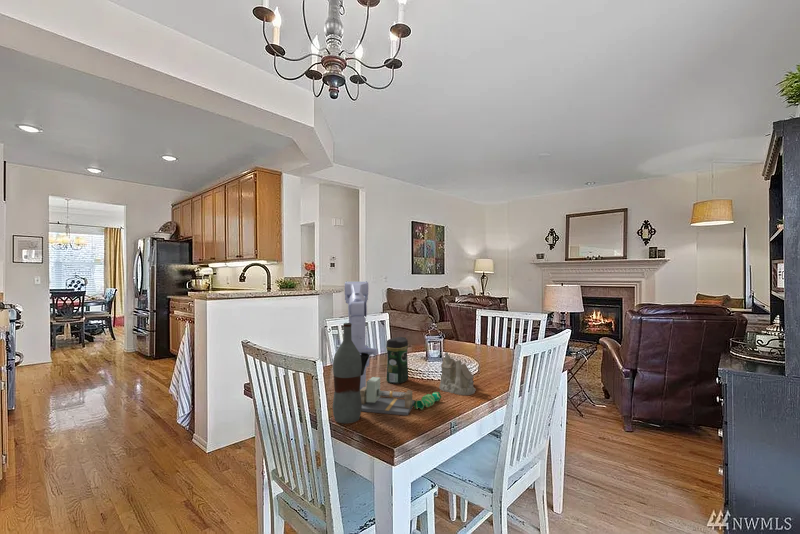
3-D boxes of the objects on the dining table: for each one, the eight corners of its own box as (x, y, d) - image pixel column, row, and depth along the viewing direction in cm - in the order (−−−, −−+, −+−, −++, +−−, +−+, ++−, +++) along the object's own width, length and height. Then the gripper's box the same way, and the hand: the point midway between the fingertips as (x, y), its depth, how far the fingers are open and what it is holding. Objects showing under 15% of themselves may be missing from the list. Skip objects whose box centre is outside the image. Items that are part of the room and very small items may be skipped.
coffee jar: (395, 377, 167) (395, 335, 168) (410, 379, 163) (410, 336, 164) (383, 382, 159) (383, 338, 159) (399, 385, 155) (399, 340, 155)
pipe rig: (355, 410, 126) (355, 393, 127) (366, 399, 138) (366, 383, 138) (407, 415, 122) (407, 398, 122) (415, 403, 134) (415, 387, 134)
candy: (424, 409, 126) (418, 397, 127) (417, 413, 128) (411, 401, 129) (443, 400, 135) (437, 389, 137) (436, 403, 137) (431, 393, 139)
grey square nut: (366, 401, 129) (366, 381, 129) (372, 396, 135) (372, 376, 135) (374, 402, 128) (374, 382, 128) (380, 396, 134) (380, 377, 134)
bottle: (356, 425, 114) (357, 325, 115) (328, 423, 116) (328, 325, 116) (365, 414, 124) (365, 321, 124) (338, 412, 125) (338, 321, 126)
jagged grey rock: (463, 396, 140) (463, 355, 142) (431, 388, 153) (431, 350, 154) (488, 390, 151) (488, 352, 152) (456, 383, 163) (456, 348, 164)
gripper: (333, 336, 131) (333, 376, 131) (373, 338, 127) (373, 378, 127) (341, 333, 138) (341, 371, 137) (379, 335, 134) (379, 373, 134)
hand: (357, 374), depth 133 cm, fingers open, 3 cm apart
